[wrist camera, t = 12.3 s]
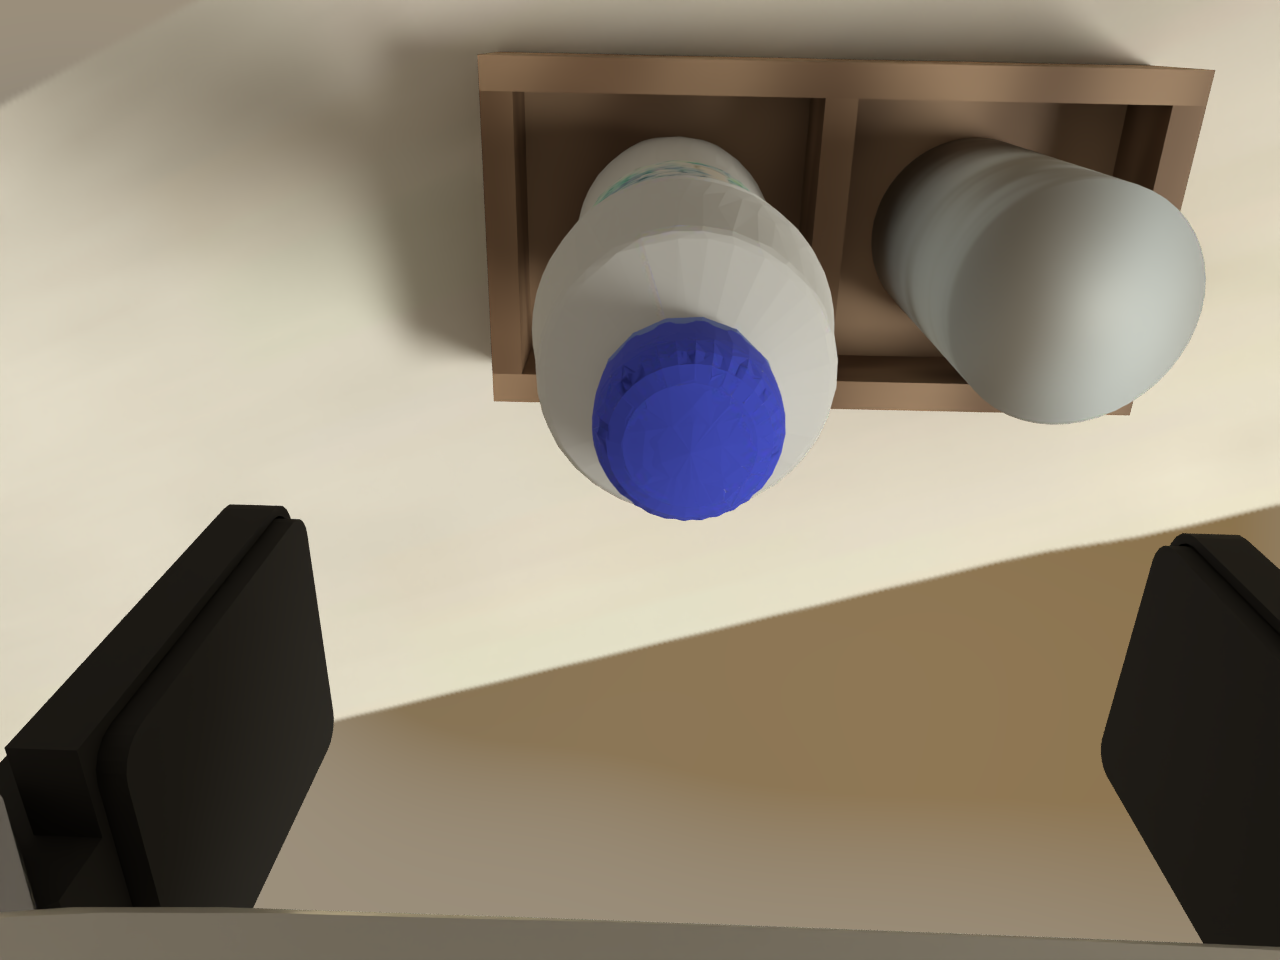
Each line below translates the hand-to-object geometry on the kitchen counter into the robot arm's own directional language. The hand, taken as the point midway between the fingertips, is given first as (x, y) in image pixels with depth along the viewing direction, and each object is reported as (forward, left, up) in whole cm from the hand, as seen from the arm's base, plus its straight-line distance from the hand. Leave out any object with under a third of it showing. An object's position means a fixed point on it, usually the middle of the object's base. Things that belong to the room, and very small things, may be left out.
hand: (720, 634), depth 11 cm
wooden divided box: (-5, 0, -27) cm, 27 cm away
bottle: (0, 0, -26) cm, 26 cm away
